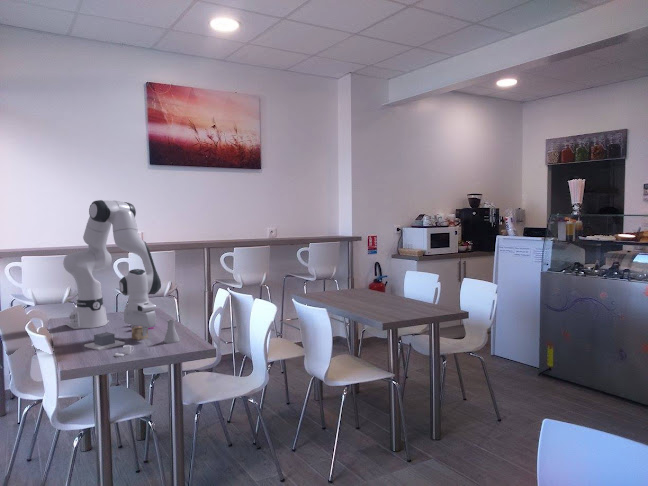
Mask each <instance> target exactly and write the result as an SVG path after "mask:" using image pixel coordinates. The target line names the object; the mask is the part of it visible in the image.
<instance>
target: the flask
mask: <svg viewBox="0 0 648 486" xmlns="http://www.w3.org/2000/svg"><path fill="white" fill-rule="evenodd" d="M166 321H167V329H166V333H165V337H164V340H163V343H164V344H175V343H179V342H180V340H181V339H180V338H179V335H178V332H177V331H176V328H175V321H176V320H175V319H167V320H166Z"/></svg>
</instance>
